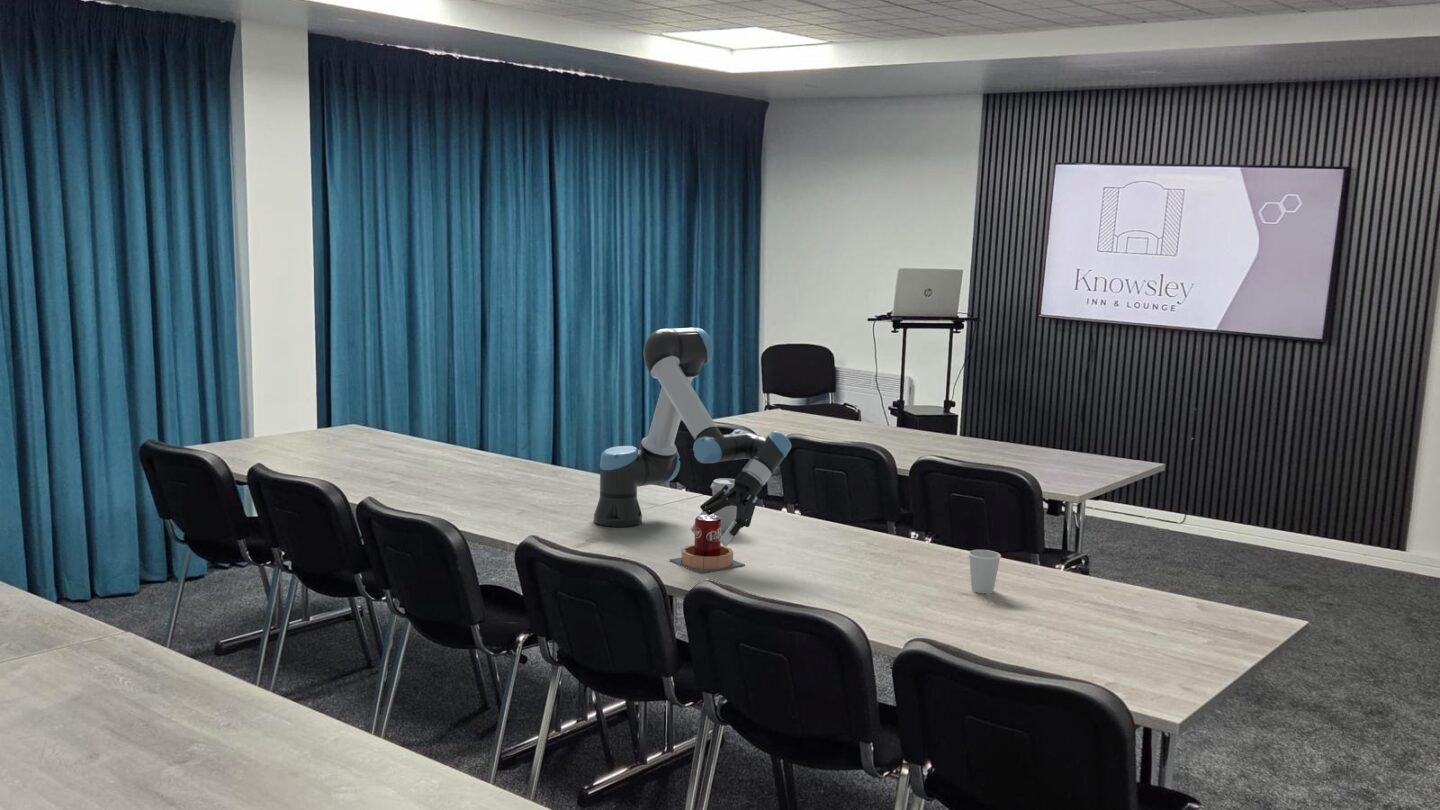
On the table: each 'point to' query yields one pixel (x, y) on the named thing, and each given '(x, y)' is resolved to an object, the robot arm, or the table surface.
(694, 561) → the bowl
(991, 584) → the dixie cup
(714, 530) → the soda can
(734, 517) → the coffee cup
